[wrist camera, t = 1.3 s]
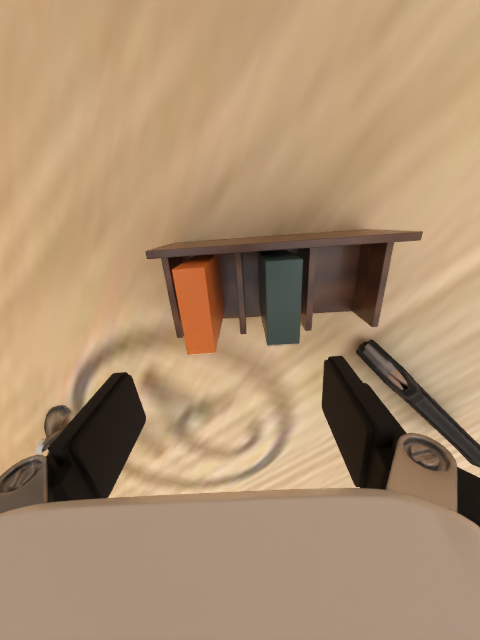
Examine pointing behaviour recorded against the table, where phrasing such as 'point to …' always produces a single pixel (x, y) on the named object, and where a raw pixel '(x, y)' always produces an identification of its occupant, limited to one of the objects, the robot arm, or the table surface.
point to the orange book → (200, 302)
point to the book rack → (317, 275)
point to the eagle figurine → (52, 427)
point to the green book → (280, 296)
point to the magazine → (418, 399)
